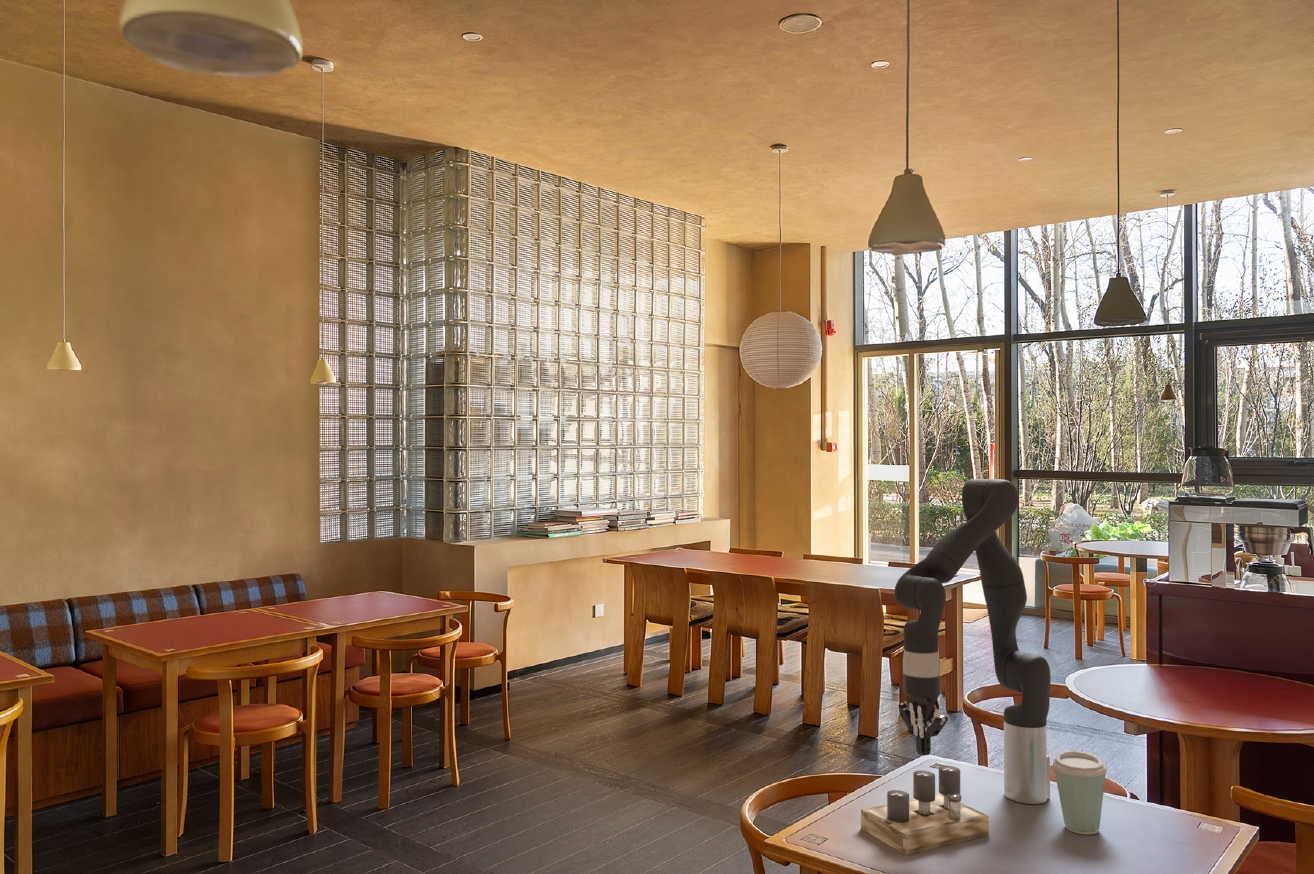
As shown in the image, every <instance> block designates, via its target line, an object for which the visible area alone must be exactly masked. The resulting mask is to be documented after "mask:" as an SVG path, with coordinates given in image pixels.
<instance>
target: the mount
mask: <svg viewBox="0 0 1314 874" xmlns="http://www.w3.org/2000/svg"><path fill="white" fill-rule="evenodd" d="M960 807H961V820H959V821H953V820H950V819H949V818H948V809H947V808H945V807H944V795H942V794H940V793H935V801H932V802H930V814H929V815H923V814H920V813H919V812H918V800H916V799H914V798H912V799H909V821H908V822H904V823H897V822H893V821H890V820H889V819H888V818H887V804H882V805H878V806H874V807H868V808H864V809H861V810H860V829H861V830H862V831H864V832H866V833H867V834H869V835H871V836H872V837H875V838H876V839H878V840H879V841H881V842H883V843H885V844H887V845H888V846H890V847H891V848H894V849H895V850H897V851H899V852H901V853H902V854H904V855H906V856H908V855H913V854H917V853H921V852H926V851H929V850H933V849H938V848H942V847H945V846H949V845H955V844H958V843H963V842H966V841H967V842H968V841H971V840H974V839H980V838H984V837H987V836H990V828H989V825H990V822H989V821H990V820H989V817H990V816H989V815H988V814H986V813H985V812H984V813H983V812H982V811H979V810H978V809H975V808H973V807H971V806H968V805H967V804H965V803H962V802H960ZM916 852H917V853H916Z"/></svg>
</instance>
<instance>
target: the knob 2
mask: <svg viewBox="0 0 1314 874" xmlns="http://www.w3.org/2000/svg"><path fill="white" fill-rule="evenodd" d="M948 793H957V794H960V795H961V769H960V768H958V767H957V766H953V765H941V766H938V794H942V795H944V807H945V808H947V809H948V799H947V794H948Z"/></svg>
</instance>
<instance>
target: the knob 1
mask: <svg viewBox="0 0 1314 874" xmlns="http://www.w3.org/2000/svg"><path fill="white" fill-rule="evenodd" d="M886 797H887V798H886V803H887V804H886V805H887V818H888V819H889V820H890V821H893V822H897V823H904V822H908V821H909V800H910V793H909V792H907V791H904V790H899V789H892V790H888V791H887V793H886Z"/></svg>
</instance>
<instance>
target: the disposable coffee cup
mask: <svg viewBox="0 0 1314 874" xmlns="http://www.w3.org/2000/svg"><path fill="white" fill-rule="evenodd" d="M1052 768H1053V770H1054V775H1055V780H1056V785H1057V786H1056V787H1057V790H1058V795H1059V801H1060V807H1061V813H1062V818H1063V822H1064V825H1065V827H1066V829H1067V830H1069V831H1070V832H1073V833H1075V834H1078V835H1086V836H1088V835H1095V834H1098V833H1099V830H1100V828H1101V827H1100V826H1101V817H1102V808H1103V800H1104V790H1105V783H1106V782H1105V780H1106V775H1107V766H1106V763H1104V760H1103V759H1101V758H1100V757H1098V756H1097V755H1095V754H1093V753H1089V752H1087V751H1080V750H1079V751H1077V750H1065V751H1064V750H1063V751H1060V752H1058V753H1056V754H1055V756H1054V758H1053V760H1052Z"/></svg>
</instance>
